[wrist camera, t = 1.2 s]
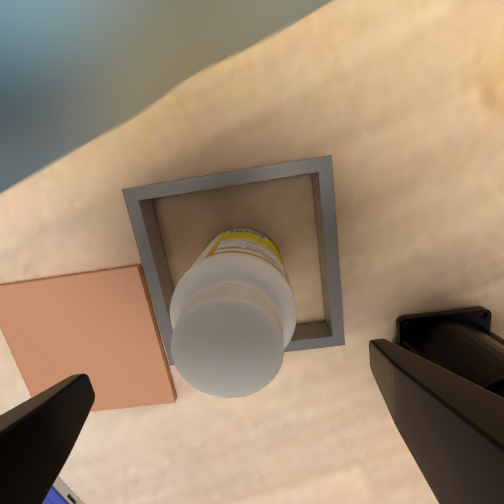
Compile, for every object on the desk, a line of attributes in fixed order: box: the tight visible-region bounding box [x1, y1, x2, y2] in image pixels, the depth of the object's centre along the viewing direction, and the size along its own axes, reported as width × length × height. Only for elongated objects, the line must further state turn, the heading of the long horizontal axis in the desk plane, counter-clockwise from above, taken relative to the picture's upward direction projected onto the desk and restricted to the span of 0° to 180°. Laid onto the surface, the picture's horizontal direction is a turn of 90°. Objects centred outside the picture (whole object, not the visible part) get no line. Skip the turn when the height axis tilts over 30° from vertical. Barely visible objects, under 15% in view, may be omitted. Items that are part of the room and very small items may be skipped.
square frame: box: [122, 155, 345, 365], centre depth 18 cm, size 13×13×2 cm
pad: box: [0, 265, 177, 412], centre depth 20 cm, size 12×12×1 cm
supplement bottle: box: [170, 227, 297, 398], centre depth 14 cm, size 6×6×10 cm
